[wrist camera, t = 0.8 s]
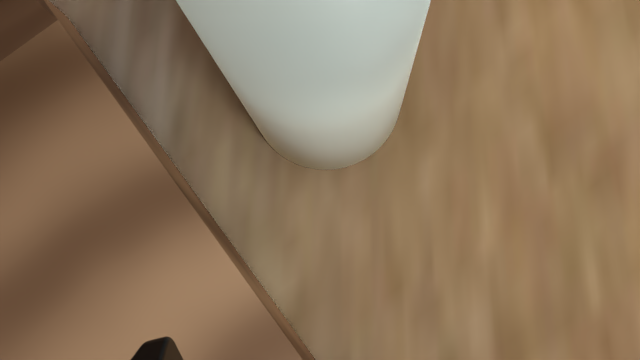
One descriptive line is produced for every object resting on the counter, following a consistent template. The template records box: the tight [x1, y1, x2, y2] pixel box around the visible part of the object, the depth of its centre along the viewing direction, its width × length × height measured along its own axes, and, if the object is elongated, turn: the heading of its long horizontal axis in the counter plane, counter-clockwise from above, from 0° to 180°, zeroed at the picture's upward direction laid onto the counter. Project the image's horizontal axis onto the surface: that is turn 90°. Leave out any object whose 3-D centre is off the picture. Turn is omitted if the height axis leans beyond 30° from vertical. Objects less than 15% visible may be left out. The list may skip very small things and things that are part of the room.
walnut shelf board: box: [0, 0, 315, 360], centre depth 19 cm, size 20×12×6 cm, turn 37°
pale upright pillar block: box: [176, 0, 431, 170], centre depth 17 cm, size 6×6×13 cm
